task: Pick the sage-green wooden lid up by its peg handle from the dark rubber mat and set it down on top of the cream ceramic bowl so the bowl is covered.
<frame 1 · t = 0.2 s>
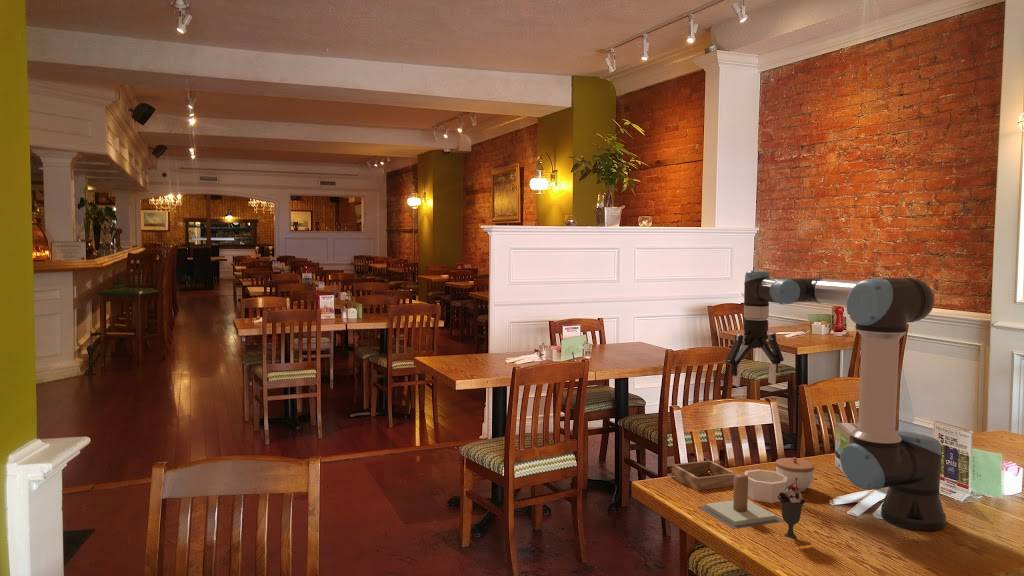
hand: (754, 384, 231), 28 cm above the table, tool pointing down, fingers open, 13 cm apart
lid: (740, 513, 193), point 1 cm above the table, touching mat
lidded jar: (794, 489, 215), on the table
sundae: (790, 538, 179), on the table
bowl: (764, 496, 208), on the table
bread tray: (703, 481, 220), on the table
tea box: (857, 474, 229), on the table
mat: (740, 516, 193), on the table
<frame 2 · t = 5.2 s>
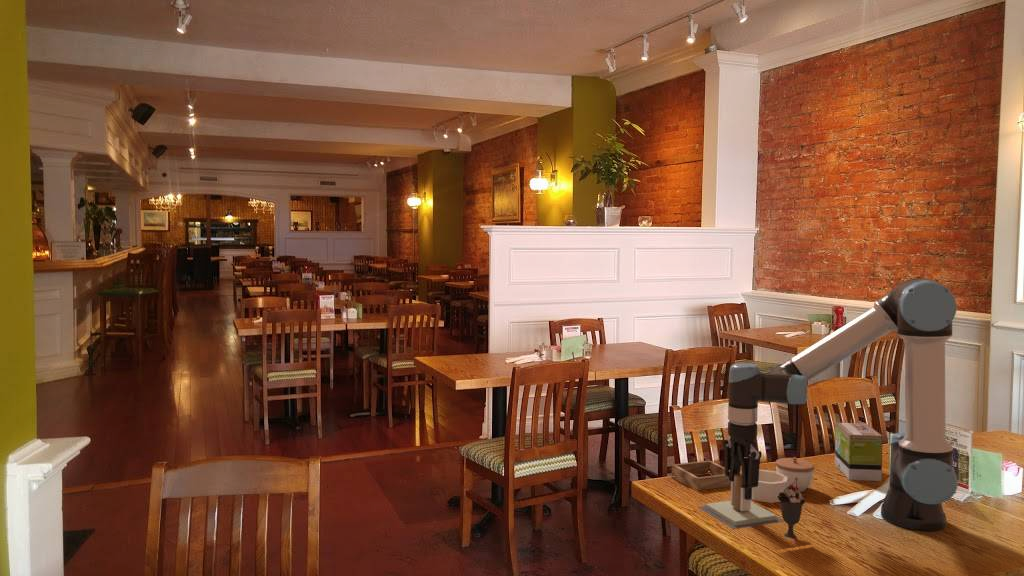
hand: (740, 507, 193), 2 cm above the table, tool pointing down, fingers closed on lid, 4 cm apart
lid: (740, 513, 193), point 1 cm above the table, touching gripper, mat
everything else where it was.
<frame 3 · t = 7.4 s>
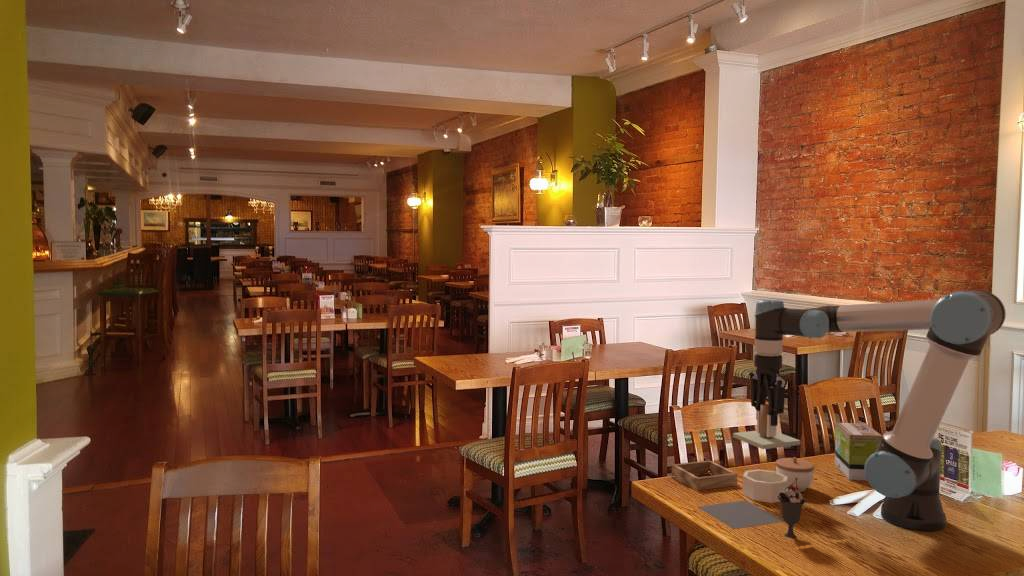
hand: (766, 434, 206), 18 cm above the table, tool pointing down, fingers closed on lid, 3 cm apart
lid: (766, 440, 206), point 17 cm above the table, touching gripper
everything else where it was.
when the fingers open (9 cm above the table, at t = 9.7 s): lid drops 1 cm, resting on bowl.
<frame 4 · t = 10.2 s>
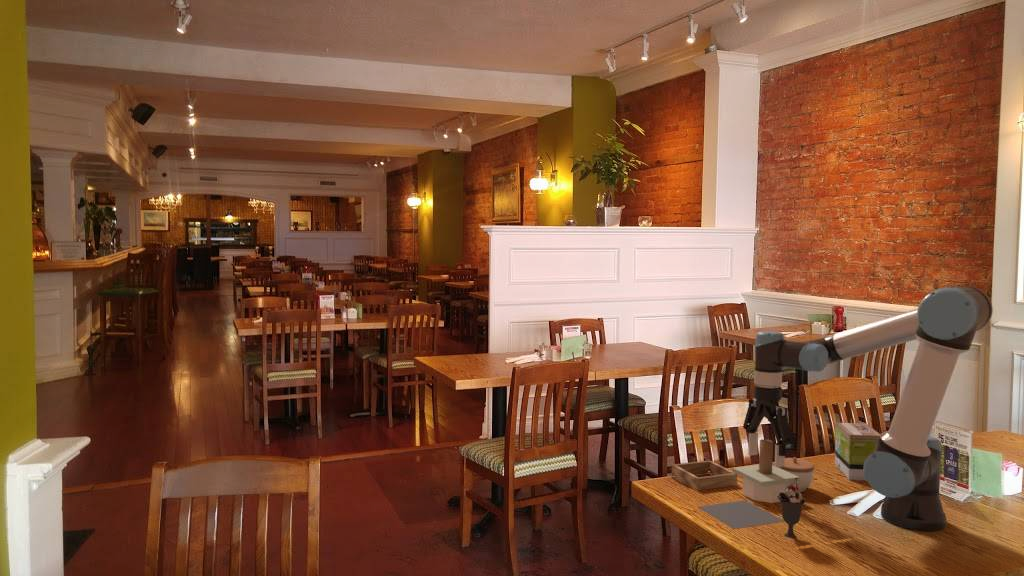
hand: (765, 460, 207), 11 cm above the table, tool pointing down, fingers open, 11 cm apart
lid: (765, 476, 207), point 6 cm above the table, touching bowl
everything else where it was.
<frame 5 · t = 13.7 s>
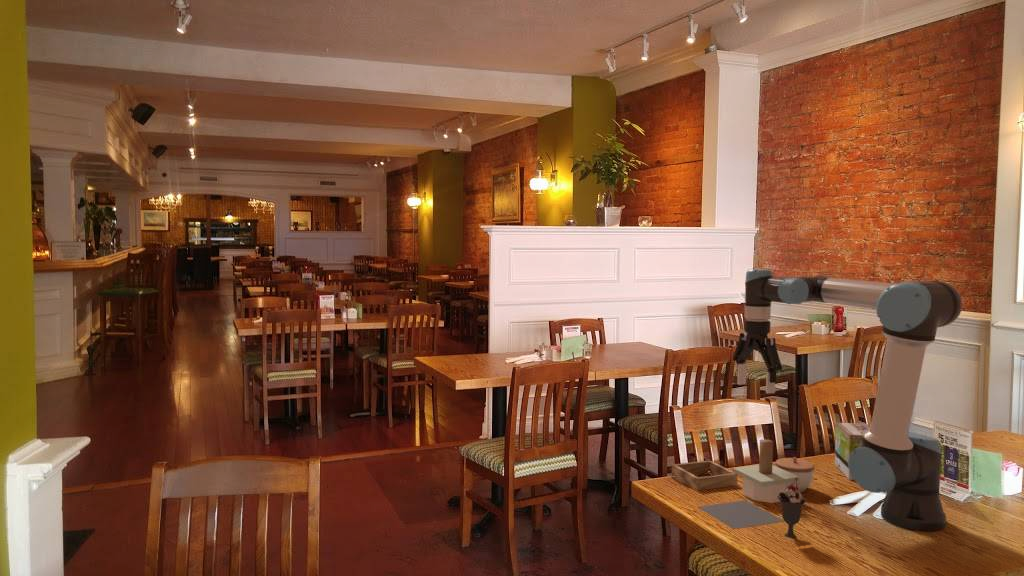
hand: (755, 388, 220), 29 cm above the table, tool pointing down, fingers open, 13 cm apart
nothing on the table moved.
at the end: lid inside the target area on the bowl (0.0 cm from its centre), point 6.0 cm above the bowl's base; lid tilted 0°; the gripper is holding nothing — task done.
